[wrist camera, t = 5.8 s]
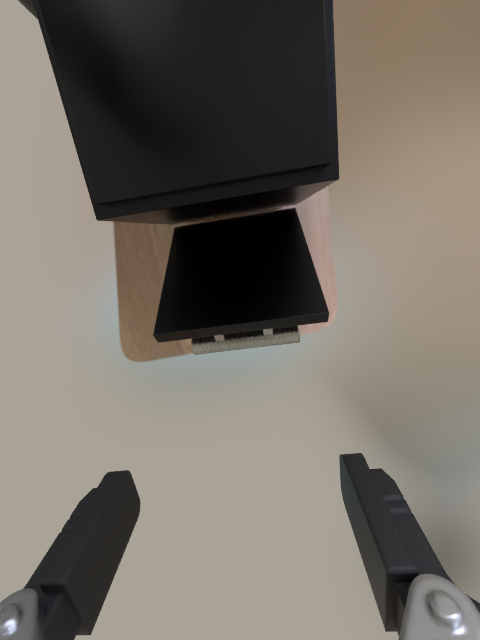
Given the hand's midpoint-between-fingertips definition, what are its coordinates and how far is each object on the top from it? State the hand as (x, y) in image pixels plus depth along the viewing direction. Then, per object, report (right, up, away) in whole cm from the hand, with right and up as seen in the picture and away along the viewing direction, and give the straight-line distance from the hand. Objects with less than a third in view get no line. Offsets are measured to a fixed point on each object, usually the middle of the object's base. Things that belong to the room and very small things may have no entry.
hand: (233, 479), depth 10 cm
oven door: (0, +15, +20) cm, 25 cm away
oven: (-1, +25, +18) cm, 31 cm away
